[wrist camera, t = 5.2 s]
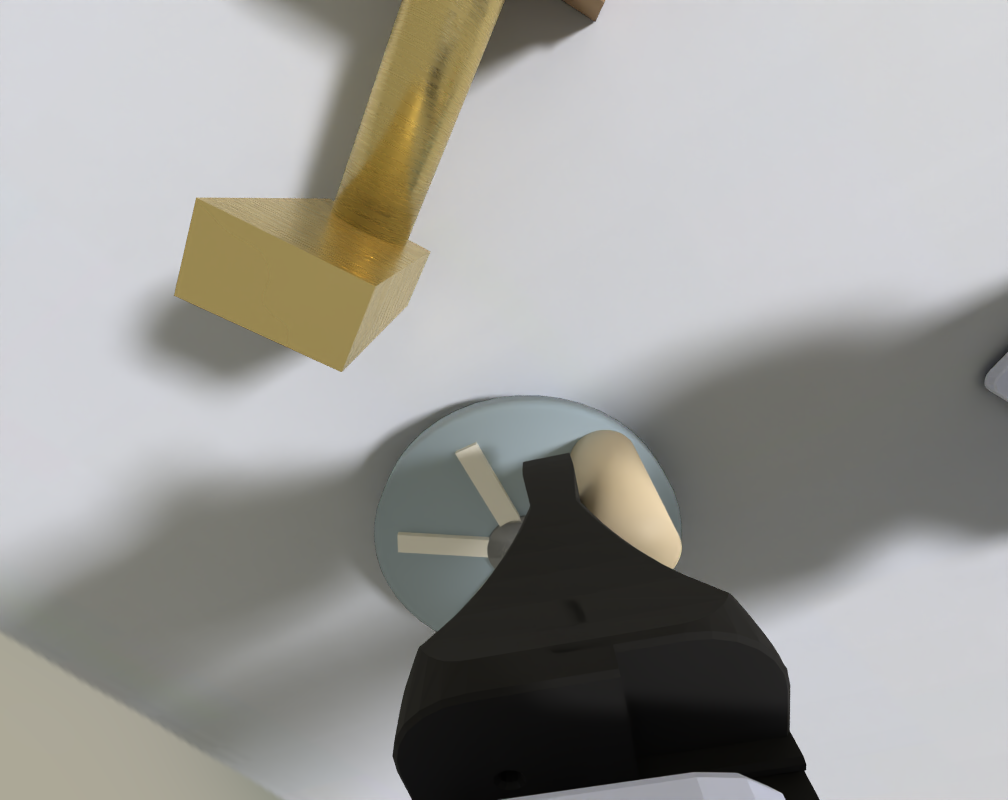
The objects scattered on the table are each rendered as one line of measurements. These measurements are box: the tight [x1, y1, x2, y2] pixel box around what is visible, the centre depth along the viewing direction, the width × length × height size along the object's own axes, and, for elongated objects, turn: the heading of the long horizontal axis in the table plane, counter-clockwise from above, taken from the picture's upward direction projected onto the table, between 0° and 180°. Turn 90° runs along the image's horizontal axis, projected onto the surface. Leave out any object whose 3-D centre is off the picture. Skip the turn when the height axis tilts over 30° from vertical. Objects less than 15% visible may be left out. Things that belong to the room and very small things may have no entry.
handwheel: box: [374, 396, 682, 632], centre depth 14 cm, size 10×10×5 cm
